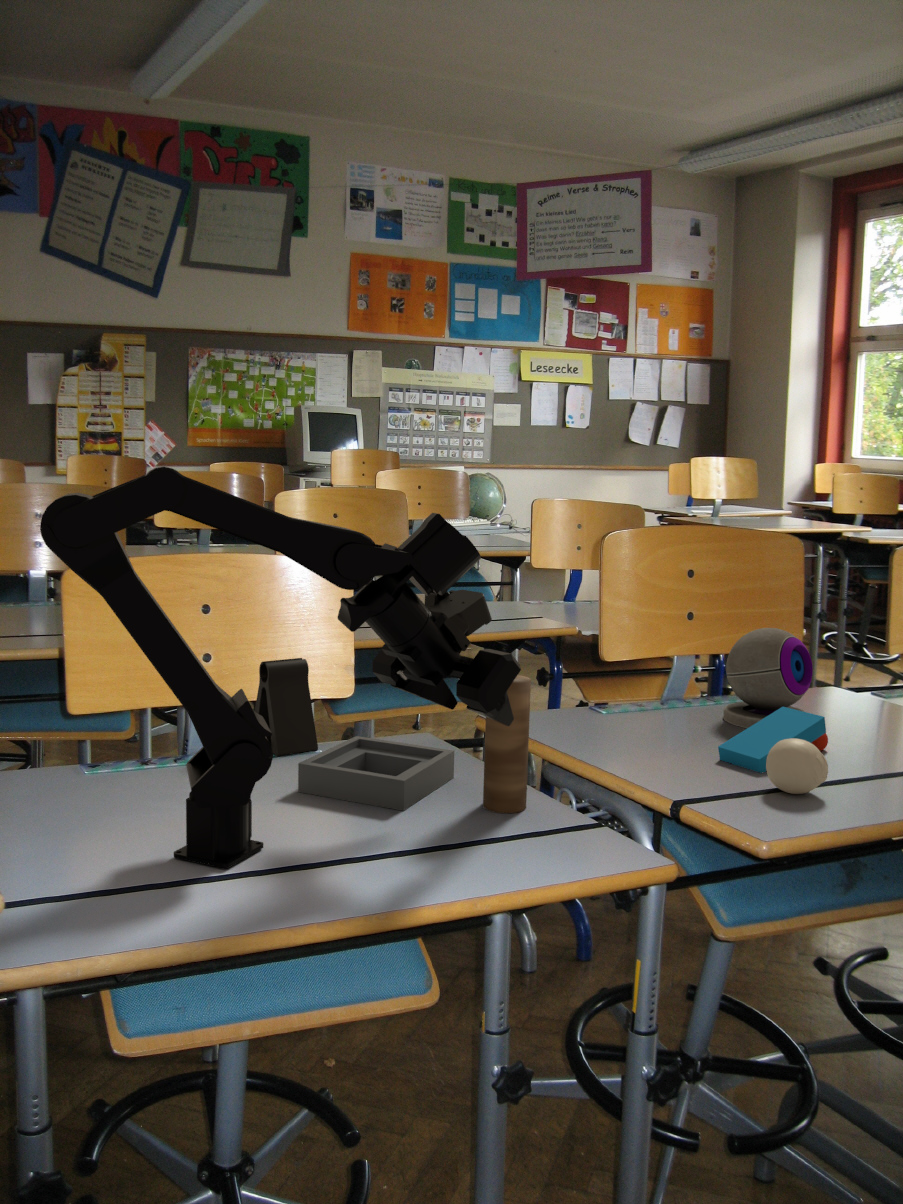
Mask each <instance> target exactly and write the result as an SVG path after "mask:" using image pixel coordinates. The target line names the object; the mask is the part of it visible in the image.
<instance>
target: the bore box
mask: <svg viewBox="0 0 903 1204" xmlns="http://www.w3.org/2000/svg"><path fill="white" fill-rule="evenodd" d="M297 765H298V766H297V769H298V770H297V771H298V773H297V778H298V779H297V782H298V783H297V788H298V789H297V793H303V794H307V795H308V794H309V795H314V796H319V797H326V798H331V799H335V800H342V801H347V802H353V803H359V804H363V805H369V806H370V805H371V806H374V807H375V806H376V807H381V808H385V809H386V808H387V809H392V810H398V811H401V812H404V811H406V810H407V809H409V808H410V807H412V806H413V805H414V804H417V803H418V802H419V801H421V800H423V799H424V798H425V797H427V796H429V795H430V794H431V793H433V792H435V791H436V790H438V789H439V788H441V787H442V786H443V785H445V784H446V783H448V782H450V781H451V780H452V779H454V777H455V750H453V749H448V748H447V749H446V748H439V747H434V746H433V747H432V746H425V745H419V744H413V743H412V744H411V743H406V742H405V743H404V742H399V741H392V740H384V739H378V738H372V737H366V736H358V735H356V736H354V737H351V738H349V739H347V740H345V741H343V742H341V743H338V744H336V745H334V746H333V747H330V748H328V749H325V750H323V751H321V752H320V753H317V754H314V755H313V756H311V757H309V758H306V759H305V760H302V761H300V762H298V764H297Z"/></svg>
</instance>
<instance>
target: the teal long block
mask: <svg viewBox="0 0 903 1204" xmlns="http://www.w3.org/2000/svg"><path fill="white" fill-rule="evenodd" d="M803 711H804V710H803ZM803 711H799V710H795V709H791V708H787V707H781V708H780V709H778V710H776V711H775V712H773V713H772V714H770V715H768V716H767V717H765V718H763V719H762V720H760V721H759V722H757V723H755V724H754V725H752V726H750V727H749V728H745V729H744V730H743V731H741V732H739V733H738V734H736V735H734V736H733V737H731V738H730V739H728V740H726V741H725V742H723V743H721V744H720V745H718V746H717V749H718V757H719V760H720V761H721V760H722V761H721V762H724V761H725V763H727V762H729V763H728V764H730V763H732V764H731V765H734V766H737V765H738V766H737V767H740V766H741V767H740V768H743V767H744V769H746V768H747V770H750V769H751V771H753V770H754V772H756V771H757V772H756V773H759V772H760V774H763V773H762V772H764V773H767V772H766V771H767V770H766V760H767V756H768V753H769V751H770V750H771V748H772V747H773V746H774V745H775V744H776V743H777V742H779V741H781V740H784V739H791V738H796V739H802V740H805V741H808V742H810V743H812V744H813V745H814V746H816V747H817V748H818V749H819V751H820V752H821V751H824V750H825V749H826V748H827V746H828V744H829V736H828V734H827V728H826V727H827V726H826V719H825V718H826V717H825V716H824V715H818V714H815V713H810V712H807V711H805V712H803Z"/></svg>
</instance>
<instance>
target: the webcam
mask: <svg viewBox="0 0 903 1204" xmlns="http://www.w3.org/2000/svg"><path fill="white" fill-rule="evenodd" d="M813 669H814V667H813V661H812V657H811V655H810V652H809V650H808V648H807V646H806V645H805V644H804V643H803V641H802V640H800V639H799V638H798V637H796V636H795V635H794V634H792V633H791V632H789V631H786V630H784V629H780V628H777V627H776V628H775V627H762V628H757V629H753V630H752V631H749V632H747V633H746V634H744V635H742V636H741V637H739V639H738V640H737V641H736V642H735V643H734V645H733V646H732V647H731V649H730V651H729V653H728V656H727V660H726V666H725V671H726V677H727V682H728V684H729V686H730V689H731V690H732V691H733V692H734V694H735V696H736V697H738V699H740V701H738V702H733V703H729V704H727V705H726V706H724V710H723V720H724V721H725V722H728V723H729V724H731V725H734V726H737V727H740V728H744V729H747V728H749V727H750V726H752V725H754V724H755V723H757V722H759V721H760V720H762V719H763V718H765V717H767V716H768V715H770V714H772V713H773V712H775V711H776V710H778V709H780V708H781V707H787V708H791V709H795V710H799V711H803V712H806V711H805V710H803V709H801V708H798V707H795V706H792V705H794V704H796V703H797V702H798V701H800V700H801V699H802V697H803V696H804V695H805V694H806V692H808V690H809V688H810V686H811V683H812V681H813V673H814V672H813V671H814V670H813Z"/></svg>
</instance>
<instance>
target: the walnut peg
mask: <svg viewBox="0 0 903 1204" xmlns="http://www.w3.org/2000/svg"><path fill="white" fill-rule="evenodd" d="M531 686H532V679H531V678H530V677H528V676H524V675H521V674H520V675H519V674H518V675H517V677H516V678H515V680H514V681H513V683H512V684H511V686H510V687H509V689H508V690H507V694H508V698H509V702H510V705H511V709H512V713H513V717H514V720H513V722H512V723H511V725H510V726H506V725H503V724H501V723H499V722H497V721H494V720H492V719H490V718H488V717H485V725H484V726H485V727H484V728H485V731H484V732H485V733H484V756H483V757H484V758H483V759H484V762H483V764H484V765H483V789H482V790H483V793H482V795H483V796H482V806H483V808H484V809H485V810H486V811H489V812H492V813H497V814H517V813H521V812H523V811H525V810H526V809H527V795H528V794H527V793H528V792H527V791H528V787H527V786H528V771H529V770H528V769H529V768H528V767H529V765H528V763H529V746H530V745H529V741H530V740H529V738H530V717H531V715H530V713H531V690H532V687H531Z"/></svg>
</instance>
